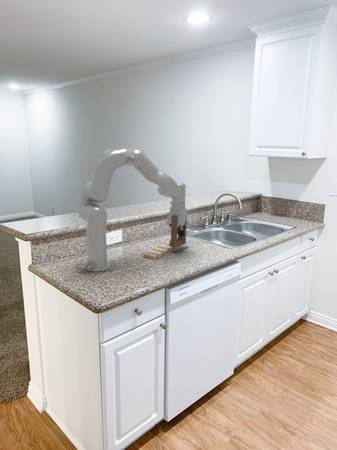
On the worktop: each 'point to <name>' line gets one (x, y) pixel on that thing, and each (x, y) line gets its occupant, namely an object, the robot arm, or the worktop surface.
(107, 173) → the robot arm
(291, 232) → the worktop surface
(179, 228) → the wooden block
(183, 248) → the end mark
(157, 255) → the wooden slatted rack
